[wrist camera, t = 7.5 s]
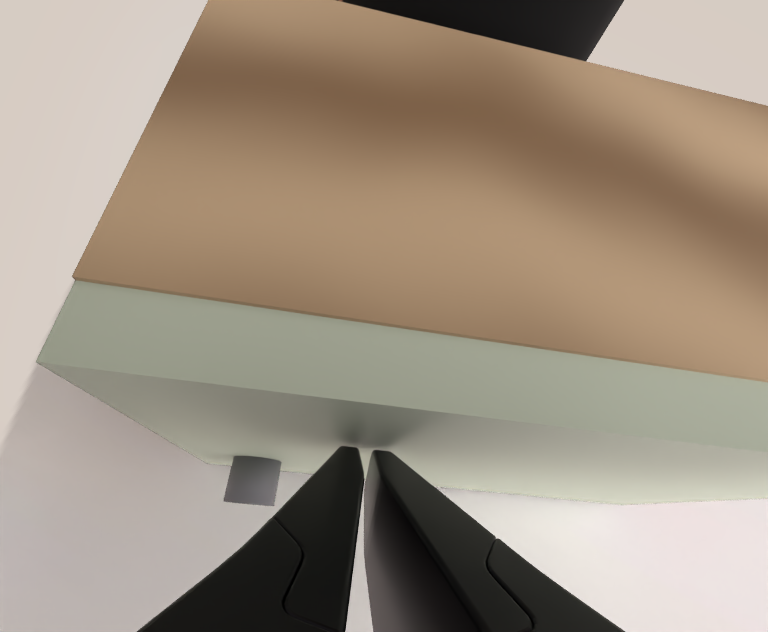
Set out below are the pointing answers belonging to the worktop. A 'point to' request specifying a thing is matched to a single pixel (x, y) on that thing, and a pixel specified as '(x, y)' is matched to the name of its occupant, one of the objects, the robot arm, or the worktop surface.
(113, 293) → the door
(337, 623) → the robot arm
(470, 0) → the coffee jar
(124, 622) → the worktop surface
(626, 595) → the worktop surface
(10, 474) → the worktop surface
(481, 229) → the cabinet
